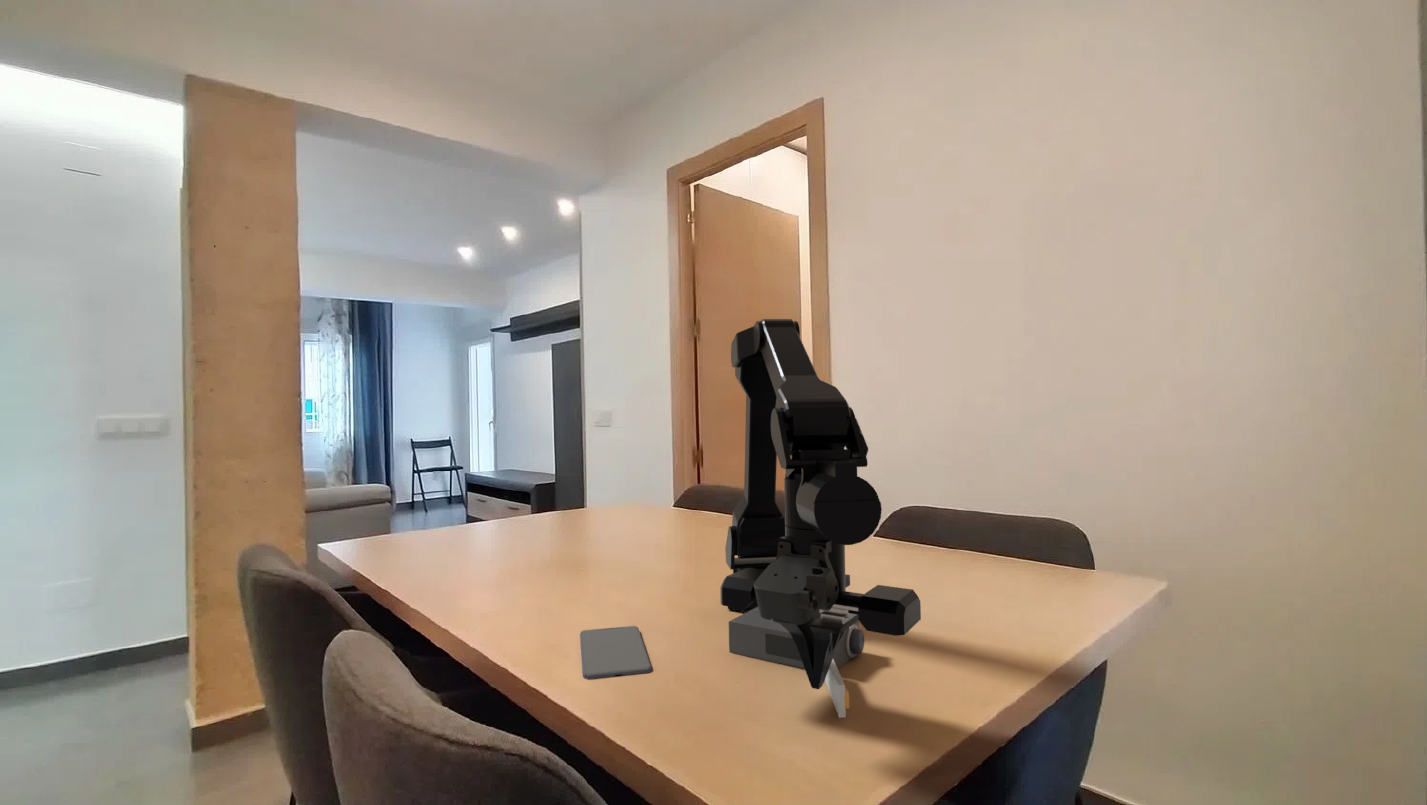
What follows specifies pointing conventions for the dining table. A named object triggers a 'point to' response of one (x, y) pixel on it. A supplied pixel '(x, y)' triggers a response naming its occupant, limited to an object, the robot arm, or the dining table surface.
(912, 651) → the dining table surface
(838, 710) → the side door
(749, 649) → the block
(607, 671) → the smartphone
